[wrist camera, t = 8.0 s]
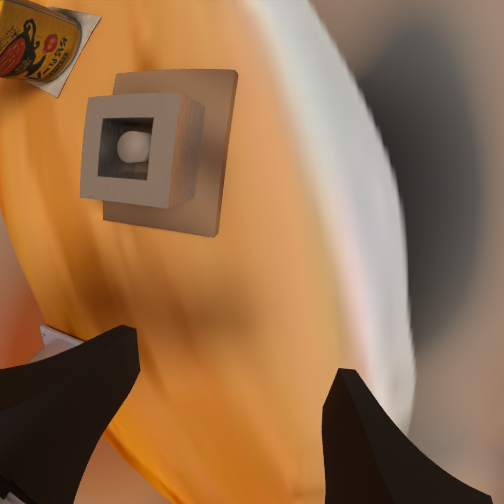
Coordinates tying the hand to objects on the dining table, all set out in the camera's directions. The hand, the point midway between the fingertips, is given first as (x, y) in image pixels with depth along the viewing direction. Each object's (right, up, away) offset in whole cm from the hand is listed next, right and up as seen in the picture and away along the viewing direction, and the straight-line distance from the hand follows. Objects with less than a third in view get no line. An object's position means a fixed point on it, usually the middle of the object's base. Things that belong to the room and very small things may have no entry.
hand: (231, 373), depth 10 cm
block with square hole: (-5, +10, +7) cm, 13 cm away
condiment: (-16, +21, +6) cm, 27 cm away
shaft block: (-5, +11, +8) cm, 14 cm away
